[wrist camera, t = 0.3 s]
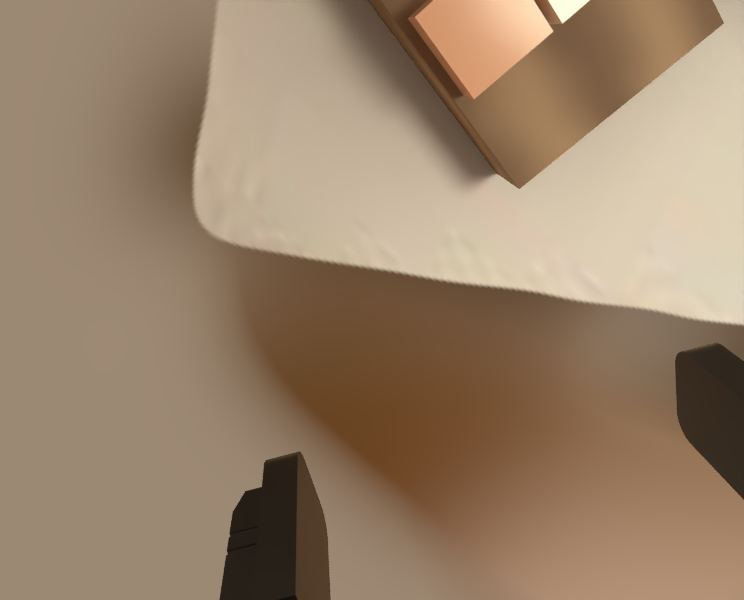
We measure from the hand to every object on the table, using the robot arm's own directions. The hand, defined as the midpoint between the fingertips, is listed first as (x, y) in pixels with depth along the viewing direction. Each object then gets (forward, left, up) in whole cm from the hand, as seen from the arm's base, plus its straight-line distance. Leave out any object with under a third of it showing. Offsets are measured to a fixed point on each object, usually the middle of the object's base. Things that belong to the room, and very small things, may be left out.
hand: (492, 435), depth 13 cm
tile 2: (-9, -3, -21) cm, 23 cm away
